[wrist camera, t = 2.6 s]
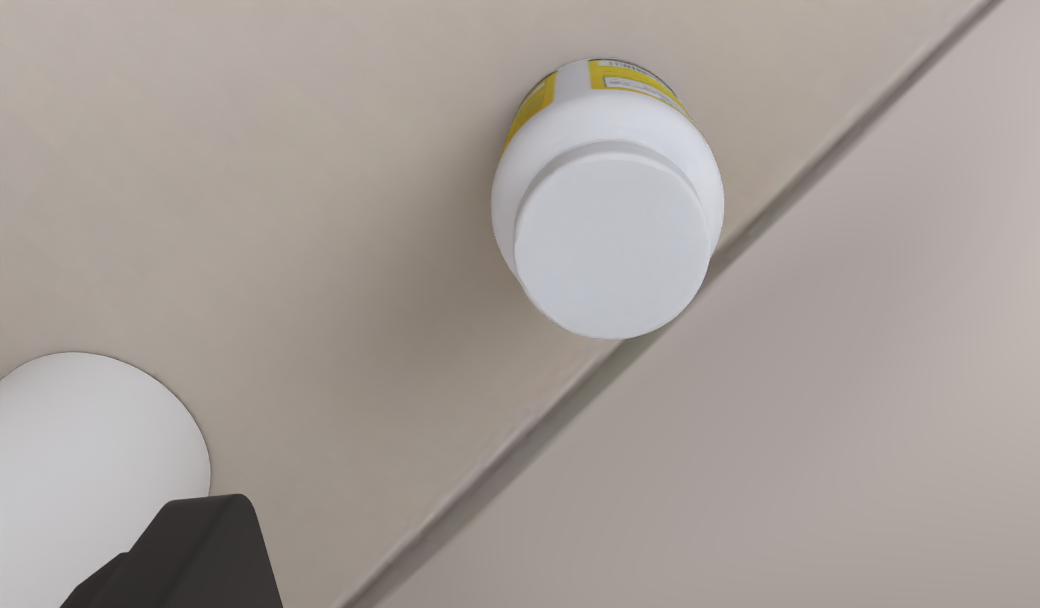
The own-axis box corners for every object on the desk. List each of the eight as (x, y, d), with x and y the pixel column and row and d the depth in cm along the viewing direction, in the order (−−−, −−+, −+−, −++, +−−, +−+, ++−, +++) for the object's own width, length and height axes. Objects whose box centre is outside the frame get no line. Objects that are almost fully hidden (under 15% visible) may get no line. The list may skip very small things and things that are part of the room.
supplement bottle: (536, 253, 29) (514, 396, 20) (487, 83, 27) (439, 153, 18) (708, 211, 28) (768, 339, 19) (670, 32, 26) (716, 78, 17)
